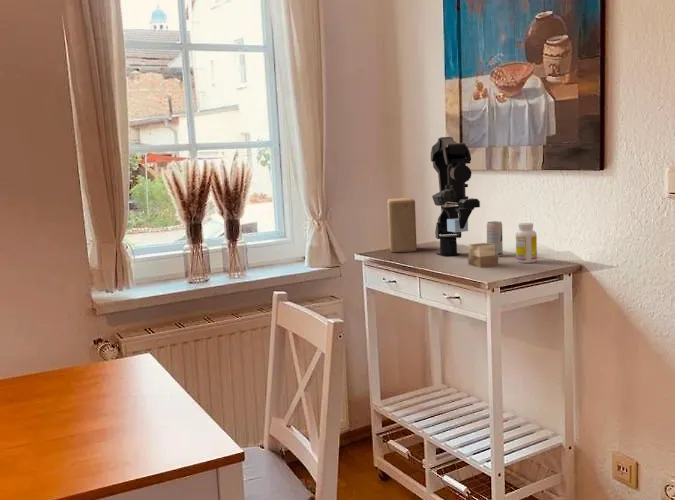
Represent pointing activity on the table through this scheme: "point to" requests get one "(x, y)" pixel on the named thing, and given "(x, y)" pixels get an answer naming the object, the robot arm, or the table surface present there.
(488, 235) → the energy drink
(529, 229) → the supplement bottle
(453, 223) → the top block
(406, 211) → the wooden block
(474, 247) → the mid block
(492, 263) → the base block
